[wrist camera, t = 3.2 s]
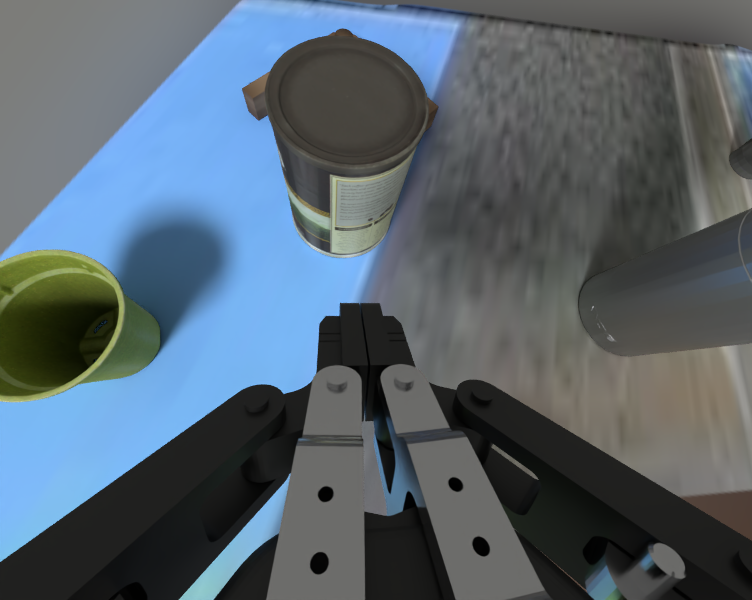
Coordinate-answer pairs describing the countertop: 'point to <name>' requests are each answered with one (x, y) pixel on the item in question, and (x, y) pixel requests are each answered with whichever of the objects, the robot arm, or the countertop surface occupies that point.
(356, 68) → the coffee can
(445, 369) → the countertop surface
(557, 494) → the robot arm
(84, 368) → the plant pot
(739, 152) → the beverage cup
